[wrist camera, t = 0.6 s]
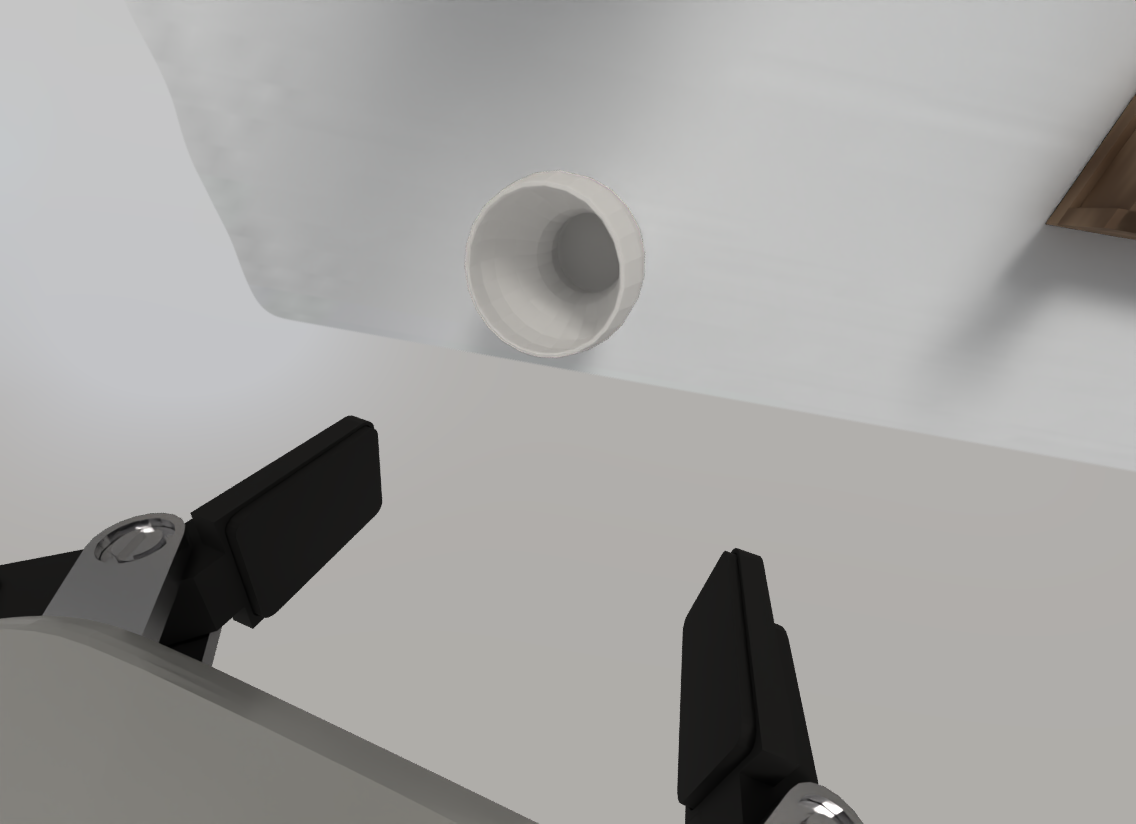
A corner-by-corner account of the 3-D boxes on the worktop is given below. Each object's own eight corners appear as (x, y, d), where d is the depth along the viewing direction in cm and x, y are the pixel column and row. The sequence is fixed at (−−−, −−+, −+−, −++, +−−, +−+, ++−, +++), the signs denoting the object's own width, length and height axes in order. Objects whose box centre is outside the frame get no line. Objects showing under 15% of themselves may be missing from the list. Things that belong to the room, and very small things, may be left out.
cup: (684, 259, 34) (677, 295, 21) (589, 333, 39) (536, 397, 26) (607, 148, 32) (546, 112, 19) (517, 241, 37) (422, 262, 24)
